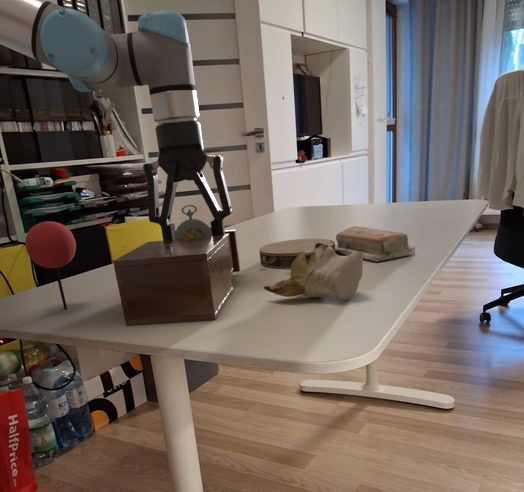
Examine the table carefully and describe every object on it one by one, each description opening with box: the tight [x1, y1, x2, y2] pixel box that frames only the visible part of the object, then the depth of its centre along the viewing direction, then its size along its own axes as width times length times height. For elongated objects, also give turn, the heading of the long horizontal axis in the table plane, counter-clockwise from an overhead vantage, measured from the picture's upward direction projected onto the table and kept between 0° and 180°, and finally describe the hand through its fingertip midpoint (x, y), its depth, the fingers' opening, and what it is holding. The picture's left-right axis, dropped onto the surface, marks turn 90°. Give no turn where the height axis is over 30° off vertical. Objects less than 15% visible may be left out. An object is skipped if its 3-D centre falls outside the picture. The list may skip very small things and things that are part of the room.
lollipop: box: [24, 221, 77, 310], centre depth 89 cm, size 8×8×15 cm
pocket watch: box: [174, 204, 213, 239], centre depth 93 cm, size 8×8×10 cm
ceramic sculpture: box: [263, 243, 364, 301], centre depth 81 cm, size 11×9×15 cm
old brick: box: [335, 225, 416, 263], centre depth 109 cm, size 18×5×10 cm
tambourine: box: [258, 238, 336, 269], centre depth 110 cm, size 16×16×3 cm
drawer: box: [184, 229, 241, 276], centre depth 97 cm, size 20×13×8 cm, turn 173°
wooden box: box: [112, 235, 234, 326], centre depth 83 cm, size 16×14×10 cm
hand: (197, 258), depth 95 cm, fingers closed on pocket watch, 7 cm apart
